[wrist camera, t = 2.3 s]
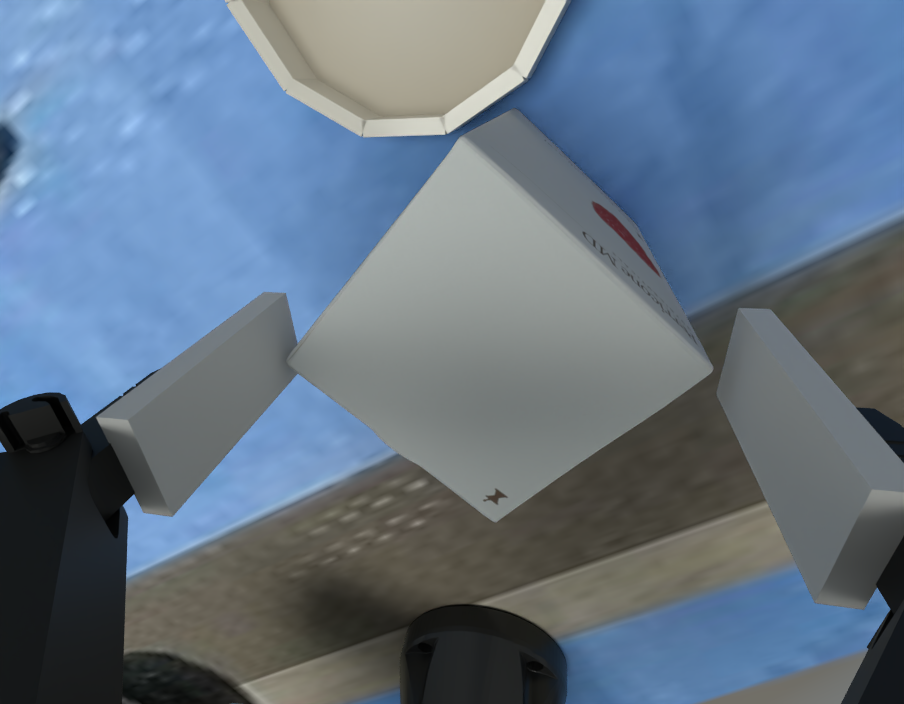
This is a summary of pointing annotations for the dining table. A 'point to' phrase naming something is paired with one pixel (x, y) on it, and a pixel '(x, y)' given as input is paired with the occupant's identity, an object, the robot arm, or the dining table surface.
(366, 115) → the bowl
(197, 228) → the dining table surface
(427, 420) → the supplement box
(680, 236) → the dining table surface
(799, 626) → the dining table surface
